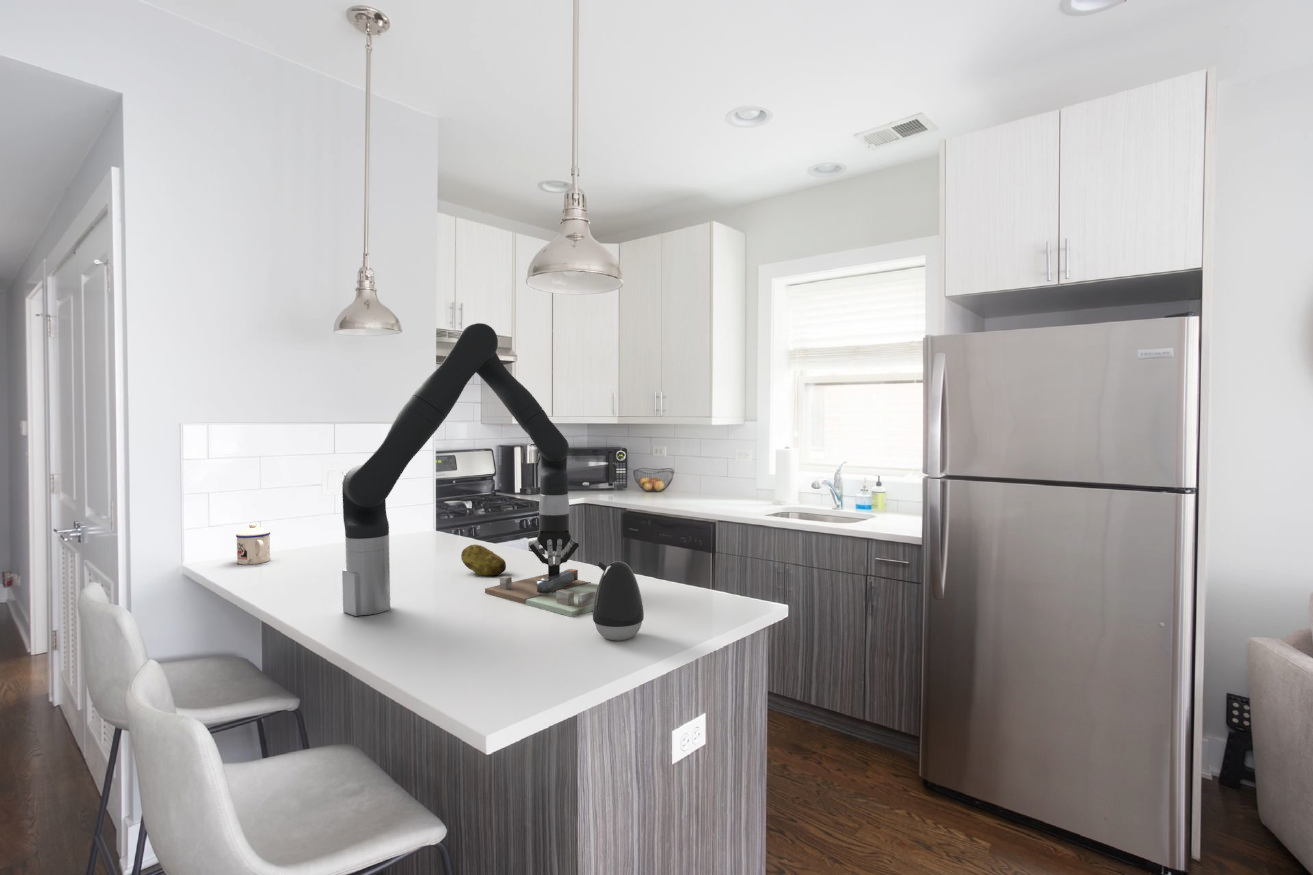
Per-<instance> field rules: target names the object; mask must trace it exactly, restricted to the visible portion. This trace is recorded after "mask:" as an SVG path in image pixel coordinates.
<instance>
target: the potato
mask: <svg viewBox="0 0 1313 875" xmlns="http://www.w3.org/2000/svg"><path fill="white" fill-rule="evenodd" d="M460 555H461V558H460V559H461V562H462V563H463V564H464V566H466V568H468V569H469V570H470V571H473V573H475V574H476V575H479V576H484V577H489V576H490V577H491V576H498V575H501V574H502V573H504V572H505V571H506V570H507V565H506V561H505V559H503V557H501V556H499V555H498V554H496V553H495V552H493V551H491V549H488V548H487V547H485V546H483V545H480V544H471V545H469V546H466V547H465V548H463V549H462V551H461V554H460Z"/></svg>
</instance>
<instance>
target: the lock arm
mask: <svg viewBox="0 0 1313 875" xmlns="http://www.w3.org/2000/svg"><path fill="white" fill-rule="evenodd" d="M578 571H579V569H573V568H568V569H566V570H564V571H560V573H558V574H555V575H553V576H550V577H548V578H543V579H539V580H537V592H538V593H550V592H553V591H554V589H557V588H559V587H561V586H564V585H566V584H568V583H571V582H573V581H576V580H579V576H578V575H579V572H578Z"/></svg>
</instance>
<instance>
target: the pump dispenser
mask: <svg viewBox="0 0 1313 875" xmlns="http://www.w3.org/2000/svg"><path fill="white" fill-rule="evenodd" d="M597 567H599V569H601V570H602V571H603V572H602V574H601V576H600V579H599V582H598V584H599V585H598V588H597V592H596V596H595V601H594V608H593V611H592V620H593V623H594V626H595V629H596V630H597V632H598V634H599V635H601V637H603V638H604V639H606V640H609V641H617V642H618V641H619V642H621V641H626V640H629V639H631V638H633V637H634V636H636V635H637V634H638V633H639V631H640V629H641V627H642V624H643V621H644V616H645V613H644V604H643V599H642V594H641V591H640V587H639V584H638V580H637V578H636V575H635V573H634V572H633V569H632V568H631V566H629V565H628V564H627V563H626V562H624V561H619V560H616V561H613V562H610V563H609V564H608V565H607V564H605V563H604V562H602V561H599V562H598V563H597Z"/></svg>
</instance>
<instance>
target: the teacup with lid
mask: <svg viewBox="0 0 1313 875" xmlns="http://www.w3.org/2000/svg"><path fill="white" fill-rule="evenodd" d="M270 535H271V531H270V530H269V529H264V528H263V527H261V526H260V527H259V526H258V525H257V523H250V524H249V527H247V528H246V527H245V528H244V529H243V530H241V531H239V532H237V533H236V534H235V537H236V549H237V550H236V555H237V556H236V557H237V563H238V564H239V565H246V566H247V565H259V564H263V563H267V562H269V561H270V560H271V551H270V550H271V546H270V545H271V544H270Z"/></svg>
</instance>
